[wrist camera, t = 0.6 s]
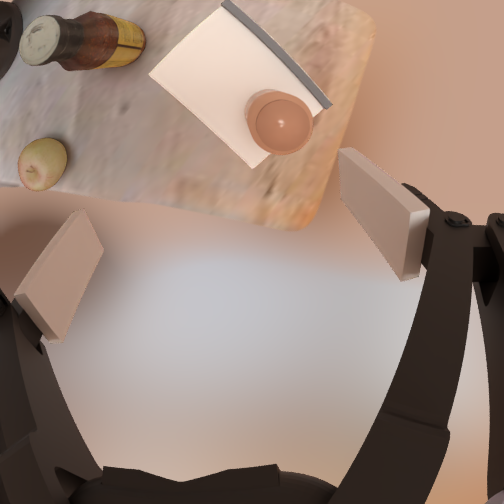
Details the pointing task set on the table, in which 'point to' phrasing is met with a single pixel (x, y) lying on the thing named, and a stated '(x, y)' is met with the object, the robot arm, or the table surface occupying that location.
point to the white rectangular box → (232, 76)
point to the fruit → (42, 164)
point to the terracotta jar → (278, 121)
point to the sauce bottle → (82, 41)
